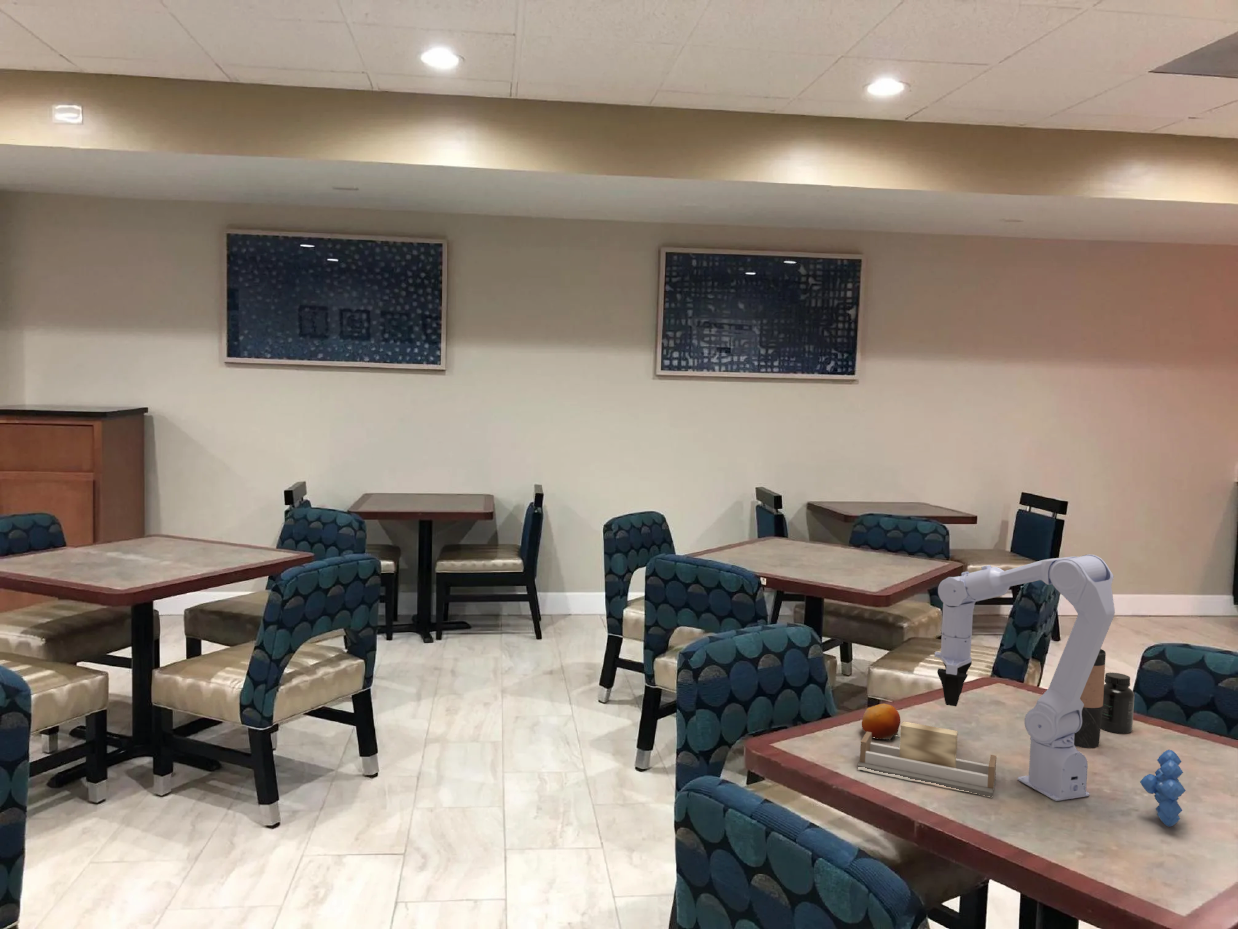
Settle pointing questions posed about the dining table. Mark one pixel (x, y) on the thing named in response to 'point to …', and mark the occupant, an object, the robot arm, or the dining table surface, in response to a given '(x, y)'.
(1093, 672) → the travel mug
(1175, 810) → the grapes
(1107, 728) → the supplement bottle
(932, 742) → the door panel
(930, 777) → the track board
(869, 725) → the fruit
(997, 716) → the dining table surface
